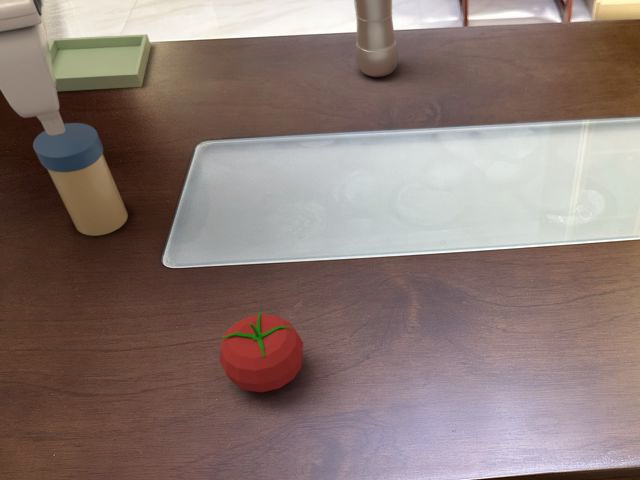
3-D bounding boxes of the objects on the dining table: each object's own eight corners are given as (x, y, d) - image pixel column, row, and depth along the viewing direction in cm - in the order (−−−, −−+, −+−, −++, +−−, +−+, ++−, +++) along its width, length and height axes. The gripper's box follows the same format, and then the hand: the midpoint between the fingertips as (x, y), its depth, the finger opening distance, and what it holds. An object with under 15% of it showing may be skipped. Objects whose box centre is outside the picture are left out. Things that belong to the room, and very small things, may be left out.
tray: (39, 92, 105) (33, 79, 103) (56, 51, 112) (50, 38, 111) (141, 86, 106) (137, 74, 105) (151, 46, 114) (147, 34, 113)
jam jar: (70, 237, 85) (32, 161, 77) (79, 205, 88) (43, 129, 80) (124, 233, 85) (91, 157, 77) (130, 201, 89) (100, 126, 81)
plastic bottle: (405, 64, 113) (399, -76, 98) (390, 85, 109) (382, -57, 93) (366, 57, 114) (355, -82, 99) (350, 78, 110) (336, -64, 94)
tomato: (233, 346, 75) (216, 294, 69) (309, 342, 75) (299, 290, 69) (224, 409, 70) (204, 359, 64) (306, 404, 70) (294, 354, 64)
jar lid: (33, 174, 77) (26, 159, 76) (46, 139, 82) (39, 124, 80) (98, 169, 78) (92, 155, 77) (107, 135, 82) (101, 120, 81)
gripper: (-49, -66, 70) (15, 68, 81) (-49, 26, 59) (26, 169, 69) (21, -74, 72) (75, 58, 83) (35, 13, 60) (96, 154, 71)
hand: (53, 109), depth 76 cm, fingers open, 7 cm apart
